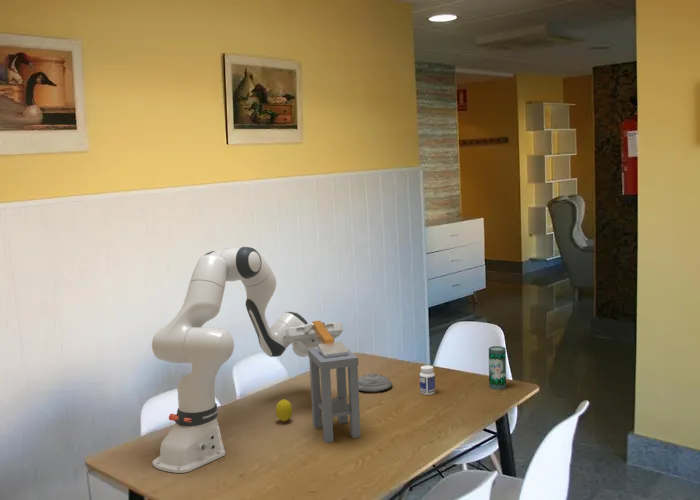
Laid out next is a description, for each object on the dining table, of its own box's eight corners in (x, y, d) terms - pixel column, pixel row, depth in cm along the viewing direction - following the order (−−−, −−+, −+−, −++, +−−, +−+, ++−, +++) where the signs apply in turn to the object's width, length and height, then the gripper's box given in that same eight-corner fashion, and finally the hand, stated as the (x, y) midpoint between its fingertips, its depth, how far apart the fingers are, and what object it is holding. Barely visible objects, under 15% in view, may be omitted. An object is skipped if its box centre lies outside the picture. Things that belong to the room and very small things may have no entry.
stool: (361, 437, 211) (358, 357, 208) (325, 443, 208) (321, 362, 204) (346, 419, 226) (342, 345, 223) (311, 425, 223) (308, 349, 220)
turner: (348, 354, 211) (348, 348, 211) (324, 358, 209) (324, 351, 208) (327, 326, 233) (327, 319, 232) (305, 328, 231) (304, 322, 230)
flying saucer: (347, 385, 262) (346, 372, 261) (381, 379, 268) (380, 366, 268) (364, 397, 249) (363, 382, 248) (399, 390, 255) (398, 376, 254)
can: (488, 388, 251) (488, 350, 249) (490, 383, 257) (489, 345, 255) (505, 389, 249) (504, 350, 247) (506, 384, 255) (505, 346, 253)
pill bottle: (435, 390, 252) (434, 364, 251) (435, 395, 247) (434, 369, 245) (419, 390, 253) (419, 364, 252) (420, 395, 247) (419, 369, 246)
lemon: (290, 425, 224) (288, 402, 223) (274, 424, 225) (273, 401, 224) (294, 418, 229) (293, 396, 228) (279, 418, 230) (278, 396, 229)
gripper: (280, 331, 239) (287, 319, 227) (335, 325, 245) (344, 313, 233) (283, 348, 237) (290, 337, 225) (338, 341, 243) (347, 330, 231)
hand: (318, 324), depth 229 cm, fingers closed on turner, 3 cm apart
